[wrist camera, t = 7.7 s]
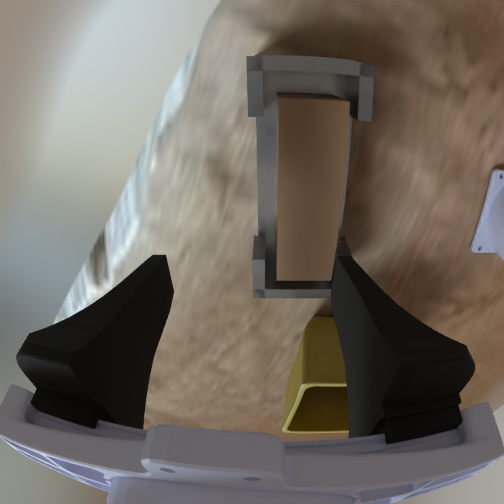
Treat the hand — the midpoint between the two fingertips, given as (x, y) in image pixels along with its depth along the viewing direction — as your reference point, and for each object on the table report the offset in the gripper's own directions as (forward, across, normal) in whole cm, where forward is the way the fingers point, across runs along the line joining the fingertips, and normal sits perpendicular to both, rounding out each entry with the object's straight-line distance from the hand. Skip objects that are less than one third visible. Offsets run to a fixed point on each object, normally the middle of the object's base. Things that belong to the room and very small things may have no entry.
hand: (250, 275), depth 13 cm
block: (+9, -3, -1) cm, 10 cm away
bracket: (+10, -3, -1) cm, 10 cm away
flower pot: (+10, -7, +15) cm, 19 cm away
